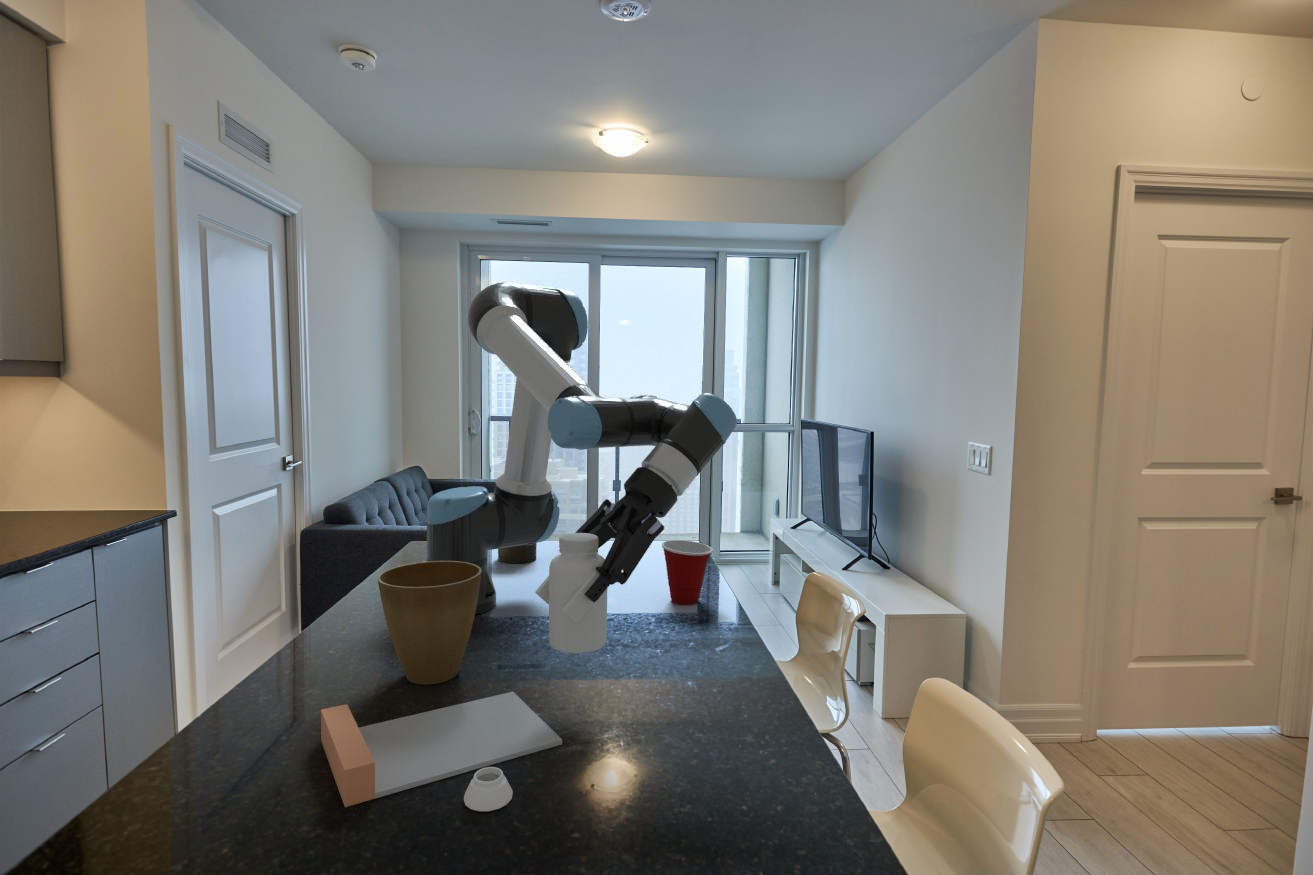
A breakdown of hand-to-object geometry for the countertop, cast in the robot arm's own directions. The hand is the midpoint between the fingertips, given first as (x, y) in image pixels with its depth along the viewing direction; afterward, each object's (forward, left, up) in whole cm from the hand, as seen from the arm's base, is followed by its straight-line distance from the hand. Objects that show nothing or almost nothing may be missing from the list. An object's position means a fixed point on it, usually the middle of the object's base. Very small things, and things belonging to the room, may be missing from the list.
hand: (555, 607), depth 94 cm
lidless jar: (+14, -14, -15) cm, 25 cm away
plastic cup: (-32, +45, -15) cm, 58 cm away
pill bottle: (0, +3, -6) cm, 7 cm away
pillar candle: (-82, +28, -15) cm, 88 cm away
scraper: (0, -15, -15) cm, 21 cm away
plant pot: (-21, -11, -15) cm, 28 cm away
